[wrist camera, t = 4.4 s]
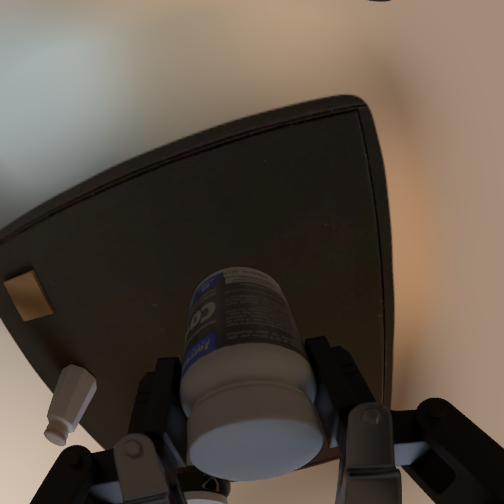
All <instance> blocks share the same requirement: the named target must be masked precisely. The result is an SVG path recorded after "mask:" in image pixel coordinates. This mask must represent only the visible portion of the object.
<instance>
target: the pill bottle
mask: <svg viewBox="0 0 504 504" xmlns="http://www.w3.org/2000/svg"><path fill="white" fill-rule="evenodd" d="M316 391H317V384H316V377H315V373H314V370H313V367H312V365H311V362H310V360H309V357H308V355H307V352H306V350H305V347H304V345H303V342H302V339H301V336H300V334H299V331H298V329H297V326H296V324H295V321H294V319H293V316H292V314H291V311H290V308H289V306H288V303H287V300H286V298H285V296H284V294H283V292H282V290H281V288H280V287H279V285H278V284H277V283H276V281H274V280H273V279H272V278H271V277H270V276H268V275H267V274H265V273H263V272H261V271H258V270H255V269H252V268H246V267H232V268H227V269H223V270H220V271H217V272H215V273H213V274H212V275H210V276H209V277H207V278H206V279H205V280H203V281H202V282H201V284H200V285H199V286H198V287H197V289H196V291H195V292H194V295H193V297H192V300H191V304H190V309H189V316H188V323H187V329H186V337H185V346H184V354H183V362H182V370H181V378H180V389H179V394H180V402H181V405H182V408H183V410H184V412H185V414H186V416H187V417H188V421H187V451H188V456H189V459H190V460H191V462H192V463H193V464H194V466H195V467H197V468H198V469H199V470H201V471H202V472H204V473H206V474H209V475H211V476H215V477H218V478H222V479H227V480H234V481H255V480H262V479H268V478H273V477H278V476H281V475H283V474H287V473H289V472H292V471H294V470H296V469H298V468H300V467H301V466H303V465H305V464H306V463H308V462H309V461H310V460H311V459H313V458H314V457H315V456H316V455H317V454H318V452H319V451H320V449H321V447H322V445H323V433H322V429H321V426H320V423H319V420H318V417H317V413H316V410H315V408H314V406H313V402H314V400H315V396H316Z"/></svg>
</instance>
